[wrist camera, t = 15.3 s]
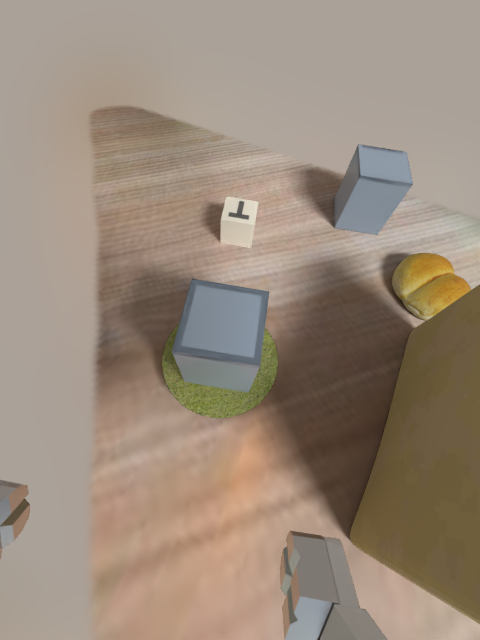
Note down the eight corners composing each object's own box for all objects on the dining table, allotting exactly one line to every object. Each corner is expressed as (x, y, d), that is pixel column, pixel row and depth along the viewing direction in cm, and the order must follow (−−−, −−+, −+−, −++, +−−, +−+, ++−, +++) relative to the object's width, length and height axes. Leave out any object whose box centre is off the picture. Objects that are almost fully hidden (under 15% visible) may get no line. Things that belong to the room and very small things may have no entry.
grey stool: (256, 334, 29) (269, 291, 21) (248, 392, 26) (260, 366, 19) (198, 324, 29) (191, 278, 21) (184, 381, 26) (171, 351, 19)
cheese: (374, 318, 33) (481, 220, 19) (458, 346, 32) (631, 263, 18) (340, 542, 23) (513, 654, 10) (462, 592, 22) (841, 795, 9)
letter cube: (254, 225, 38) (258, 200, 35) (250, 248, 36) (254, 224, 33) (225, 220, 38) (226, 195, 35) (220, 243, 36) (220, 218, 33)
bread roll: (427, 258, 38) (449, 237, 34) (470, 314, 34) (499, 297, 31) (375, 270, 36) (392, 249, 33) (414, 331, 32) (438, 314, 29)
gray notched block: (374, 205, 42) (406, 152, 34) (377, 234, 39) (412, 183, 32) (334, 198, 42) (358, 144, 35) (334, 227, 39) (360, 175, 32)
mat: (218, 297, 32) (218, 288, 31) (296, 360, 30) (300, 353, 28) (141, 366, 28) (136, 360, 26) (223, 447, 25) (224, 446, 24)
